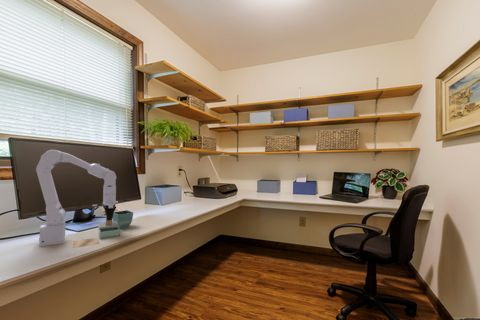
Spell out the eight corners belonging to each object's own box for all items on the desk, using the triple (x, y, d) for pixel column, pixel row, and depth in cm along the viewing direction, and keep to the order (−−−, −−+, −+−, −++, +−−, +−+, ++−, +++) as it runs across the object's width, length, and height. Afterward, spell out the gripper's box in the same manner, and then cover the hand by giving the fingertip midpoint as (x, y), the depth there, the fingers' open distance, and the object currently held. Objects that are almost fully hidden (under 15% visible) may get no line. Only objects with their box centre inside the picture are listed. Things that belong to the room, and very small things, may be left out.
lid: (99, 229, 113) (99, 217, 113) (97, 224, 120) (98, 213, 120) (119, 226, 118) (119, 215, 118) (117, 222, 125) (117, 212, 125)
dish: (99, 239, 113) (99, 232, 113) (98, 234, 120) (98, 227, 120) (119, 236, 118) (119, 229, 118) (117, 231, 125) (117, 225, 125)
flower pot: (126, 224, 139) (127, 209, 139) (133, 227, 133) (133, 212, 133) (111, 227, 132) (111, 212, 132) (117, 230, 126) (118, 214, 126)
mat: (72, 248, 101) (72, 247, 101) (73, 241, 109) (73, 241, 109) (99, 244, 106) (99, 243, 106) (97, 237, 114) (97, 237, 114)
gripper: (120, 194, 115) (119, 221, 115) (116, 191, 127) (115, 215, 127) (104, 196, 111) (103, 223, 111) (101, 192, 123) (101, 217, 123)
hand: (109, 219), depth 119 cm, fingers closed on lid, 3 cm apart
